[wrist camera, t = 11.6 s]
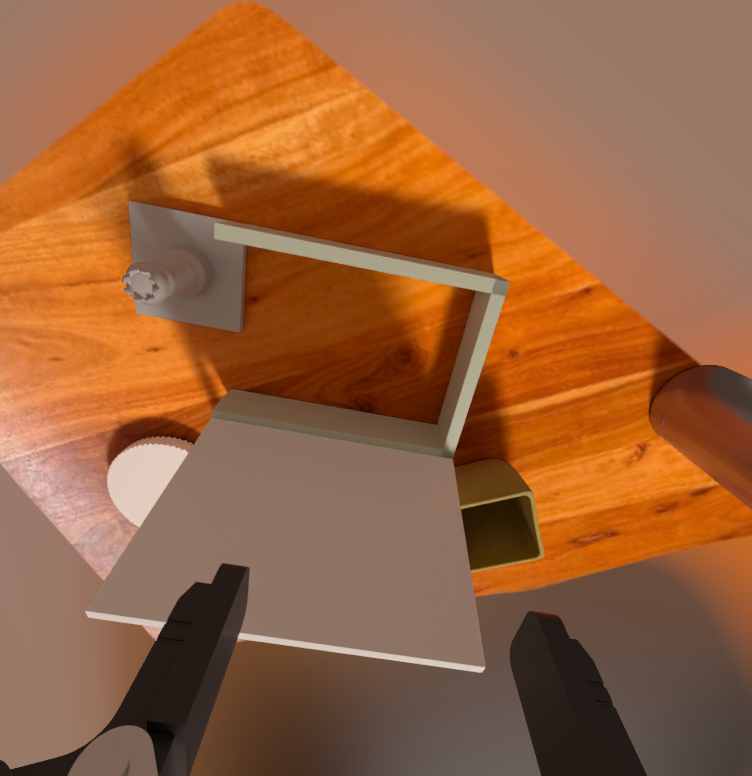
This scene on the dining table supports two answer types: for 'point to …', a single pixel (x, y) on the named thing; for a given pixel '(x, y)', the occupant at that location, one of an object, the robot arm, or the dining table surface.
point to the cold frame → (364, 424)
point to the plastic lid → (144, 474)
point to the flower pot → (497, 515)
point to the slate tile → (226, 259)
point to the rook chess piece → (169, 277)
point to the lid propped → (310, 546)
